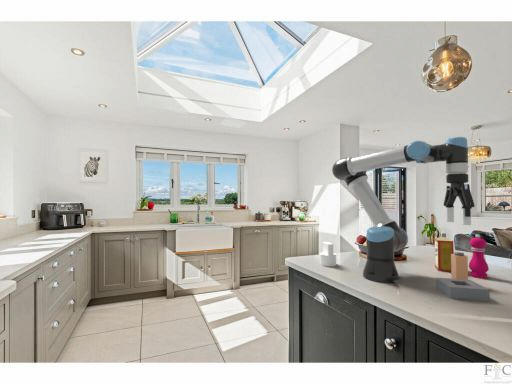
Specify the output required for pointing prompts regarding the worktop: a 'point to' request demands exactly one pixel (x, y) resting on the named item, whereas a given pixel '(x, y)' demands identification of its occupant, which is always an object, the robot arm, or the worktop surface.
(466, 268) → the plug
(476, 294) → the grey square socket block
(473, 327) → the worktop surface
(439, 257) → the baking soda box
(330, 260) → the cylinder with rectangular tab
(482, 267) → the pepper mill
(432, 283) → the worktop surface
